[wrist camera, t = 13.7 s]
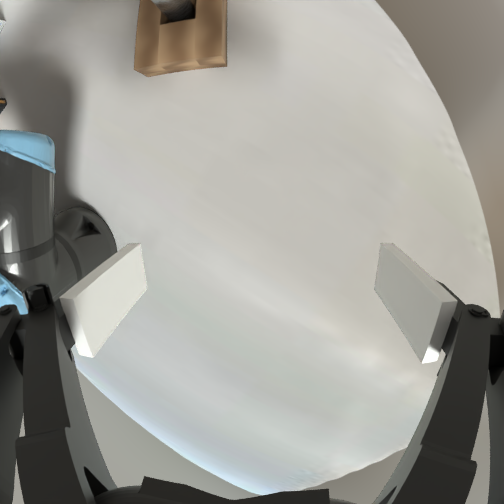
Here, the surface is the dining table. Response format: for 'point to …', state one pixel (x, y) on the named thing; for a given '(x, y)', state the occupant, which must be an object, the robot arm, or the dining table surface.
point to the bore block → (181, 39)
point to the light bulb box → (1, 24)
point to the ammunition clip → (2, 104)
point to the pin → (176, 9)
